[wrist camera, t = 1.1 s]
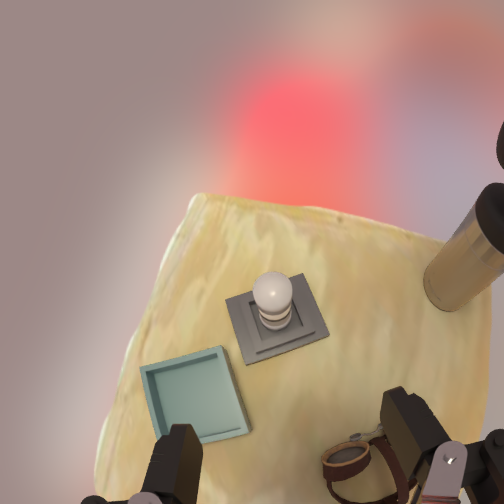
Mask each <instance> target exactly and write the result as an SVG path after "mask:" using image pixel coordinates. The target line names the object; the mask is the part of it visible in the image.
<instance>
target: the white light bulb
mask: <svg viewBox="0 0 504 504" xmlns="http://www.w3.org/2000/svg"><path fill="white" fill-rule="evenodd" d="M253 296H254V299H255V302H256V305H257V307H258V311H259V315H260V319H261V322H262V324H263V326H264V327H265V328H266V329H267V330H269V331H272V332H279V331H282V330H284V329H286V328H287V327H288V325H289V324H290V321H291V302H292V284H291V282H290V280H289V279H288V278H287V277H286V276H285V275H284V274H282V273H279V272H267V273H264V274H262V275H261V276H259V277H258V278H257V280H256V281H255V283H254V285H253Z"/></svg>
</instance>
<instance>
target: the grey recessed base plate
mask: <svg viewBox="0 0 504 504" xmlns="http://www.w3.org/2000/svg"><path fill="white" fill-rule="evenodd" d="M288 279H289V280H290V282H291V284H292V302H291V321H290V324H289V325H288V327H287V328H286V329H284V330H282V331H279V332H272V331H269V330H267V329H266V328H265V327H264V326H263V324H262V322H261V319H260V315H259V311H258V307H257V305H256V302H255V299H254V296H253V291H250V292H247V293H244V294H241V295H238V296H235V297H232V298H229V299H226V300H225V301H226V304H227V308H228V311H229V314H230V318H231V321H232V324H233V327H234V331H235V334H236V337H237V340H238V343H239V347H240V350H241V353H242V356H243V359H244V362H245V365H246V366H247V365H250V364H253V363H256V362H260V361H263V360H266V359H269V358H271V357H274V356H277V355H280V354H283V353H286V352H289V351H291V350H294V349H297V348H299V347H302V346H305V345H307V344H310V343H313V342H315V341H318V340H320V339H323V338H325V337H328V336H329V335H330V334H329V332H328V329H327V327H326V325H325V322H324V320H323V318H322V315H321V313H320V311H319V308H318V306H317V304H316V301H315V299H314V297H313V295H312V292H311V290H310V288H309V286H308V283H307V281H306V279H305V277H304V274H303V273H301V274H299V275H296V276H293V277H290V278H288Z"/></svg>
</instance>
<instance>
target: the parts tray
mask: <svg viewBox="0 0 504 504" xmlns="http://www.w3.org/2000/svg"><path fill="white" fill-rule="evenodd" d="M139 368H140V373H141V378H142V382H143V387H144V391H145V396H146V400H147V404H148V408H149V412H150V416H151V420H152V424H153V427H154V431H155V434H156V438H157V441H158V440H159V439H160V437H161V436H162V435H169V432H170V429H171V426H172V424H191V425H192V426H193V428H194V430H195V432H196V434H197V436H198V438H199V440H200V442H201V444H203V443H208V442H213V441H218V440H222V439H227V438H231V437H235V436H239V435H243V434H247V433H250V432H251V431H252V428H251V425H250V422H249V419H248V416H247V413H246V410H245V407H244V404H243V401H242V398H241V395H240V392H239V389H238V386H237V383H236V380H235V377H234V373H233V370H232V367H231V364H230V360H229V357H228V354H227V351H226V349H225V348H224V347H222V346H221V345H220V346H216V347H213V348H210V349H206V350H203V351H199V352H196V353H192V354H189V355H185V356H181V357H178V358H174V359H170V360H166V361H162V362H158V363H154V364H150V365H146V366H142V367H139Z"/></svg>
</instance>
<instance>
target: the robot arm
mask: <svg viewBox="0 0 504 504" xmlns="http://www.w3.org/2000/svg"><path fill="white" fill-rule="evenodd" d="M496 153H497V158H498V161H499V163H500V165H501V166H502V168H503V169H504V122H503V124H502V127H501V129H500V132H499V135H498V140H497V147H496ZM503 273H504V184H503V183H492V184H489V185H488V186H486V187H485V188H484V190H483V191H482V192H481V194H480V196H479V197H478V199H477V201H476V202H475V204H474V205H473V207H472V208H471V210H470V211H469V213H468V214H467V216H466V217H465V219H464V220H463V222H462V223H461V224H460V226H459V227H458V229H457V230H456V231H455V233H454V234H453V236H452V237H451V238H450V239H449V241H448V242H447V243H446V245H445V246H444V247H443V249H442V250H441V251H440V252H439V254H438V255H437V256H436V257H435V259H434V260H433V261H432V262H431V264H430V265H429V266H428V268H427V269H426V271H425V274H424V287H425V291H426V293H427V296H428V297H429V299H430V300H431V302H432V303H433V304H434V305H435V306H437V307H438V308H439V309H442V310H444V311H455V310H457V309H459V308H460V307H462V306H463V305H464V304H466V303H467V302H468V301H470V300H471V299H472V298H474V297H475V296H476V295H477V294H479V293H480V292H481V291H482V290H484V289H485V288H486V287H487V286H489V285H490V284H491V283H492V282H493V281H495V280H496V279H497V278H498V277H499V276H500V275H501V274H503ZM380 421H381V425H382V427H383V429H384V431H385V434H386V436H387V438H388V440H389V442H390V444H391V446H392V448H393V450H394V452H395V455H396V457H397V459H398V461H399V463H400V465H401V468H402V470H403V472H404V474H405V476H406V479H407V481H409V480H411V479H413V478H416V479H417V482H418V484H417V486H416V489H415V491H414V494H413V496H412V499H411V501H410V504H460V503H461V501H460V500H459V499H458V496H459V492H460V488H463V487H464V489H465V491H466V493H467V495H468V497H469V500H470V502H471V504H504V429H497V430H494V431H492V432H490V433H489V434H488V436H487V437H486V439H485V440H483V441H479V442H475V443H471V444H466V445H463V444H462V443H460V442H457V441H452V440H451V439H450V438H449V436H448V435H447V433H446V432H445V430H444V429H443V427H442V426H441V424H440V423H439V421H438V420H437V418H436V417H435V415H433V412H432V411H431V410H430V409H429V407H428V405H427V404H426V402H425V401H424V400H423V399H422V398H421V397H419V396H418V395H416V394H414V393H413V394H411V395H408V394H407V393H406V391H405V390H404V388H403V387H401V386H399V387H396V388H393V389H390V390H387V391H385V392H384V393H383V399H382V405H381V411H380ZM202 459H203V448H202V444H201V442H200V440H199V438H198V436H197V434H196V432H195V430H194V428H193V426H192V425H191V424H172V426H171V429H170V432H169V435H162V436H161V437H160V439H159V440H158V441H157V442H156V443H155V446H154V450H153V455H152V456H151V459H150V461H151V462H150V463H149V466H148V469H147V473H146V476H145V479H144V483H143V486H142V489H141V491H140V493H137V494H135V495H133V496H132V497H131V498H130V499H129V500H125V501H112V502H107V501H106V500H105V499H104V498H102V497H100V496H96V495H95V496H94V495H93V496H89V497H86V498H85V499H84V500H83V501H82V502H81V504H196V502H197V494H198V487H199V480H200V473H201V466H202Z"/></svg>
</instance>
